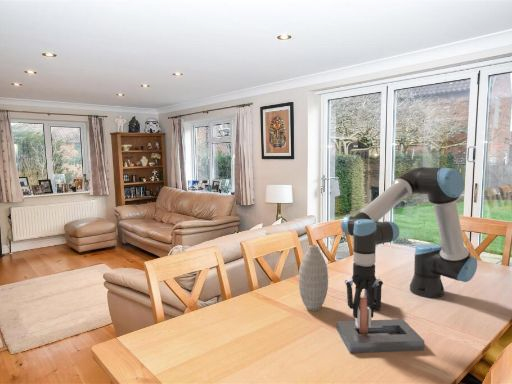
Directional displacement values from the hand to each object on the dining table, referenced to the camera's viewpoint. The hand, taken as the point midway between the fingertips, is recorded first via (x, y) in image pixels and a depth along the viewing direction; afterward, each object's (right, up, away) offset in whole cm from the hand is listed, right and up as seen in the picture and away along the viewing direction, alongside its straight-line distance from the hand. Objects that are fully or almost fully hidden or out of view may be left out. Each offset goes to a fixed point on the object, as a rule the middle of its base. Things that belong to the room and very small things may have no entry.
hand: (362, 325), depth 128 cm
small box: (+13, -2, +30) cm, 33 cm away
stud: (0, -5, +1) cm, 5 cm away
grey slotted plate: (+6, -5, +1) cm, 8 cm away
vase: (-14, -3, +28) cm, 31 cm away
